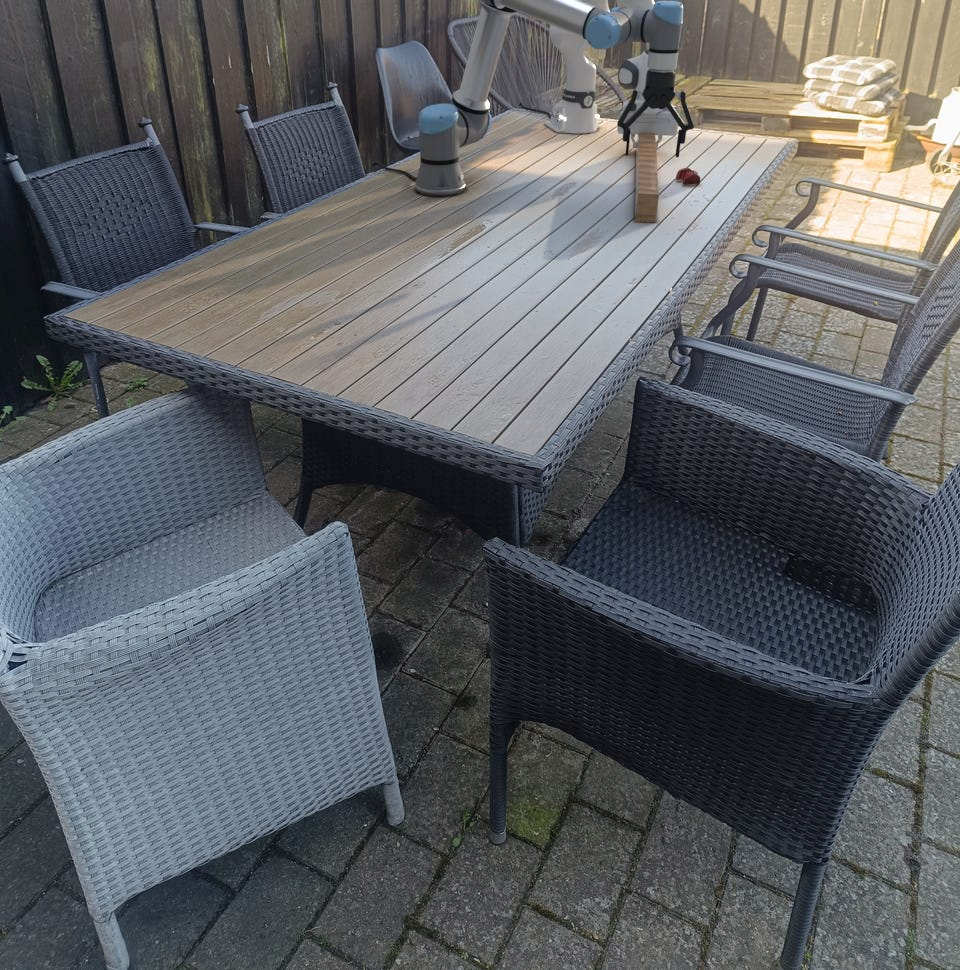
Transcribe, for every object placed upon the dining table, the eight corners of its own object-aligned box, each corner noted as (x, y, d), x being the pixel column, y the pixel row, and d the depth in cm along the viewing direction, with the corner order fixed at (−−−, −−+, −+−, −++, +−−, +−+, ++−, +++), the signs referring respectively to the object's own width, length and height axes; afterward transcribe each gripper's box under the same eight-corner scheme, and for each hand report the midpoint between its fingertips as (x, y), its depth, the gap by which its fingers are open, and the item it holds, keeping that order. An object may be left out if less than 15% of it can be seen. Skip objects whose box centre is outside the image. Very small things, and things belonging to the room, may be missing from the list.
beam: (655, 222, 234) (658, 194, 229) (635, 221, 234) (638, 193, 230) (652, 150, 296) (654, 127, 291) (636, 150, 297) (638, 126, 292)
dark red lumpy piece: (691, 164, 266) (703, 171, 259) (690, 177, 268) (701, 185, 262) (675, 166, 265) (686, 173, 258) (673, 179, 267) (684, 187, 261)
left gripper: (709, 68, 220) (697, 153, 232) (613, 66, 223) (606, 149, 235) (711, 73, 214) (699, 160, 226) (612, 71, 217) (605, 156, 229)
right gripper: (681, 103, 282) (675, 147, 290) (619, 101, 284) (615, 144, 292) (681, 107, 277) (676, 151, 285) (619, 105, 279) (615, 149, 287)
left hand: (651, 155), depth 231 cm, fingers open, 13 cm apart
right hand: (645, 148), depth 289 cm, fingers closed on beam, 5 cm apart
